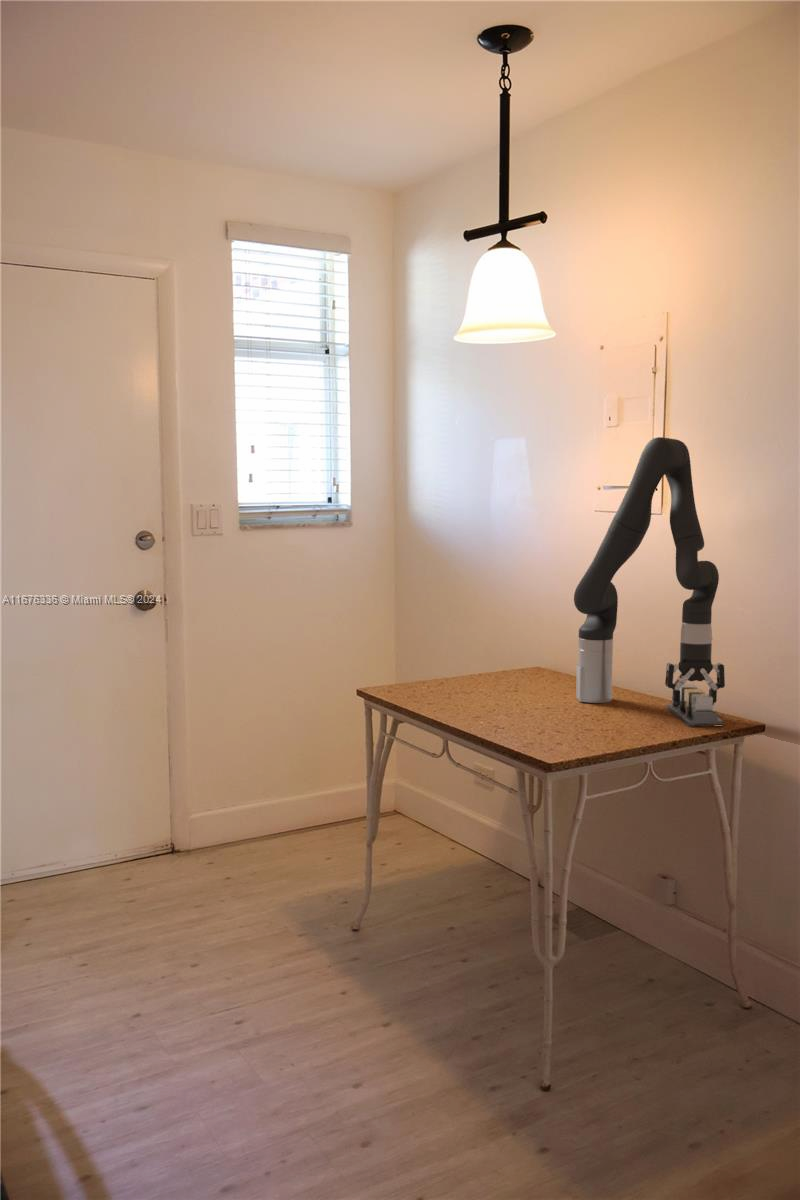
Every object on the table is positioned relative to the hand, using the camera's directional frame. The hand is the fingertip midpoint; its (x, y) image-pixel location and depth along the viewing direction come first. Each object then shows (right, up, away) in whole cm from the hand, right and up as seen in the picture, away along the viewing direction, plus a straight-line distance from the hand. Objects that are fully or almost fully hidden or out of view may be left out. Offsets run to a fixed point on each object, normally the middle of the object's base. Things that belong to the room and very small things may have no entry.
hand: (694, 704), depth 249 cm
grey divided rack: (0, -3, 0) cm, 3 cm away
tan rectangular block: (0, -3, 0) cm, 3 cm away
